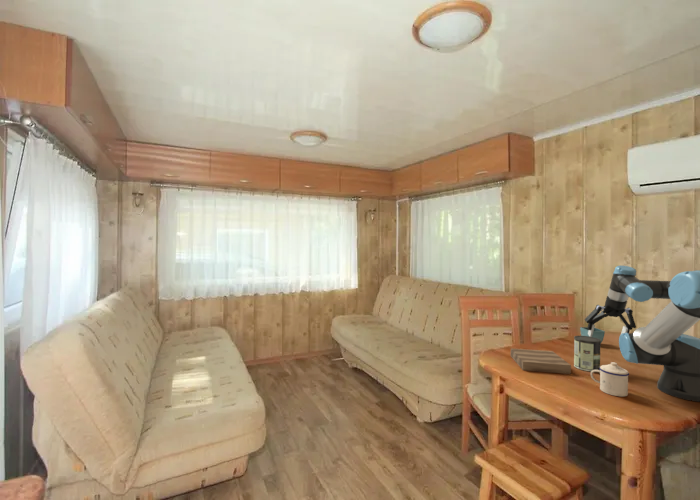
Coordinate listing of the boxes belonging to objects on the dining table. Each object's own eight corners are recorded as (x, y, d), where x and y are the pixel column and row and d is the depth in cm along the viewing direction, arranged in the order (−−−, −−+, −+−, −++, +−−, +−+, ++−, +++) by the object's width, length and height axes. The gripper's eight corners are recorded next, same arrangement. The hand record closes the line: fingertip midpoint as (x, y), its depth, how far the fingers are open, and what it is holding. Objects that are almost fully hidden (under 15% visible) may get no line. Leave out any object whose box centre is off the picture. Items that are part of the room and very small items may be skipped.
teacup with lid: (629, 392, 129) (630, 362, 129) (627, 399, 123) (628, 368, 123) (592, 383, 138) (592, 355, 138) (588, 389, 131) (589, 360, 131)
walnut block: (570, 373, 147) (570, 365, 147) (522, 370, 151) (522, 361, 151) (552, 358, 167) (552, 351, 167) (510, 355, 171) (510, 348, 171)
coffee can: (593, 364, 159) (593, 336, 159) (605, 372, 149) (605, 342, 149) (569, 363, 161) (570, 334, 161) (579, 371, 151) (580, 340, 151)
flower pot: (605, 346, 189) (605, 331, 189) (589, 346, 189) (590, 330, 189) (594, 342, 198) (594, 327, 198) (579, 341, 198) (579, 327, 198)
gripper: (644, 297, 151) (631, 336, 158) (583, 291, 157) (573, 329, 164) (654, 305, 144) (640, 345, 151) (589, 299, 150) (579, 338, 157)
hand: (605, 337), depth 158 cm, fingers open, 13 cm apart
